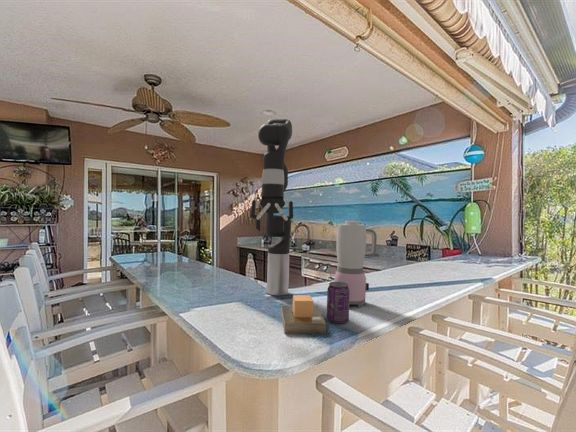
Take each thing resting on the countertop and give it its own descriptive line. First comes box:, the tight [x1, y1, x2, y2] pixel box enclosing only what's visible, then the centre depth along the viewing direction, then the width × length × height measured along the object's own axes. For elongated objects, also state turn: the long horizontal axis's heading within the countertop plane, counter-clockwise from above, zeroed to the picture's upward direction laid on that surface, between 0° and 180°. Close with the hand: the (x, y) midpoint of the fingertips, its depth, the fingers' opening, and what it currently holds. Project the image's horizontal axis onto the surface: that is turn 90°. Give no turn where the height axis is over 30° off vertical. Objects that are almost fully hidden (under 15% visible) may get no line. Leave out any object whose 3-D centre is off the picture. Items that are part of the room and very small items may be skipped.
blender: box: [333, 220, 377, 308], centre depth 117 cm, size 16×12×32 cm
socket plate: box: [280, 305, 327, 335], centre depth 94 cm, size 16×12×4 cm
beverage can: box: [326, 281, 350, 324], centre depth 97 cm, size 7×7×12 cm
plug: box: [292, 294, 314, 317], centre depth 94 cm, size 6×6×8 cm
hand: (271, 231), depth 102 cm, fingers open, 8 cm apart
